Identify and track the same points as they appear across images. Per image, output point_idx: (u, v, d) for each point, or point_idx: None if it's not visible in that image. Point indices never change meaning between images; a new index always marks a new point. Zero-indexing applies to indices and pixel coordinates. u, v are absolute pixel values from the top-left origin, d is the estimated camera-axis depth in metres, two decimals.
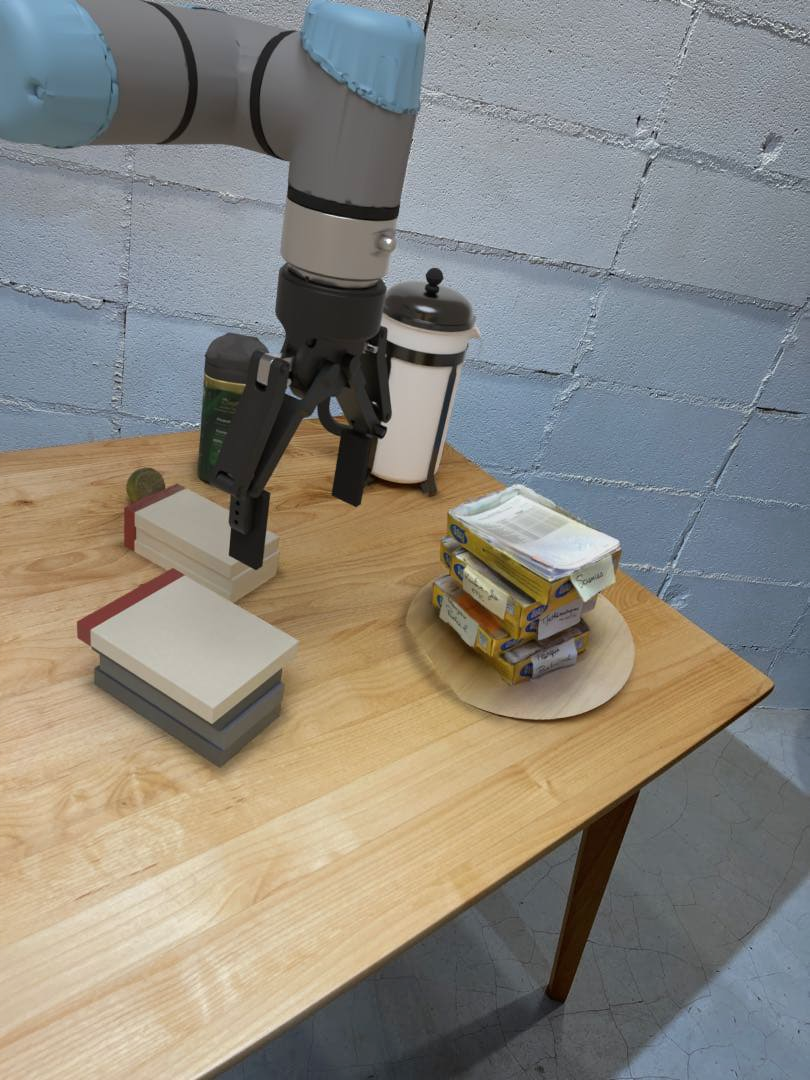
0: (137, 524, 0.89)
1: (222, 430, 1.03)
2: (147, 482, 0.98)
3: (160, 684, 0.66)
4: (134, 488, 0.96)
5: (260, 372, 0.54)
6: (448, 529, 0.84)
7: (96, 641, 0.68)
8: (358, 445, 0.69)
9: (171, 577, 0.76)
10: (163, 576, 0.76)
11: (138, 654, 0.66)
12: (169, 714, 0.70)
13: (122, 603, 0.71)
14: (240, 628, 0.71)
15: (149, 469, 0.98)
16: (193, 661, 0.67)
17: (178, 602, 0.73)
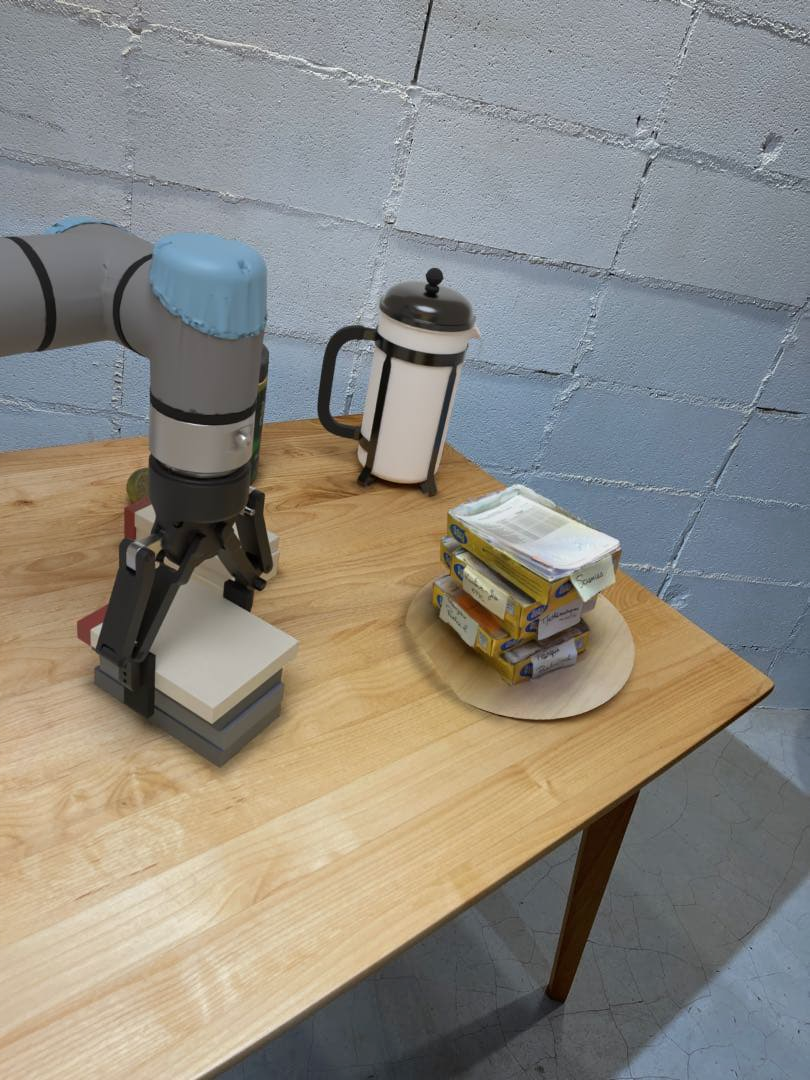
0: (137, 524, 0.89)
1: None
2: (147, 482, 0.98)
3: (160, 684, 0.66)
4: (134, 488, 0.96)
5: (128, 560, 0.59)
6: (448, 529, 0.84)
7: (96, 641, 0.68)
8: (239, 597, 0.73)
9: None
10: None
11: None
12: (169, 714, 0.70)
13: None
14: (240, 628, 0.71)
15: None
16: (193, 661, 0.67)
17: (178, 601, 0.73)
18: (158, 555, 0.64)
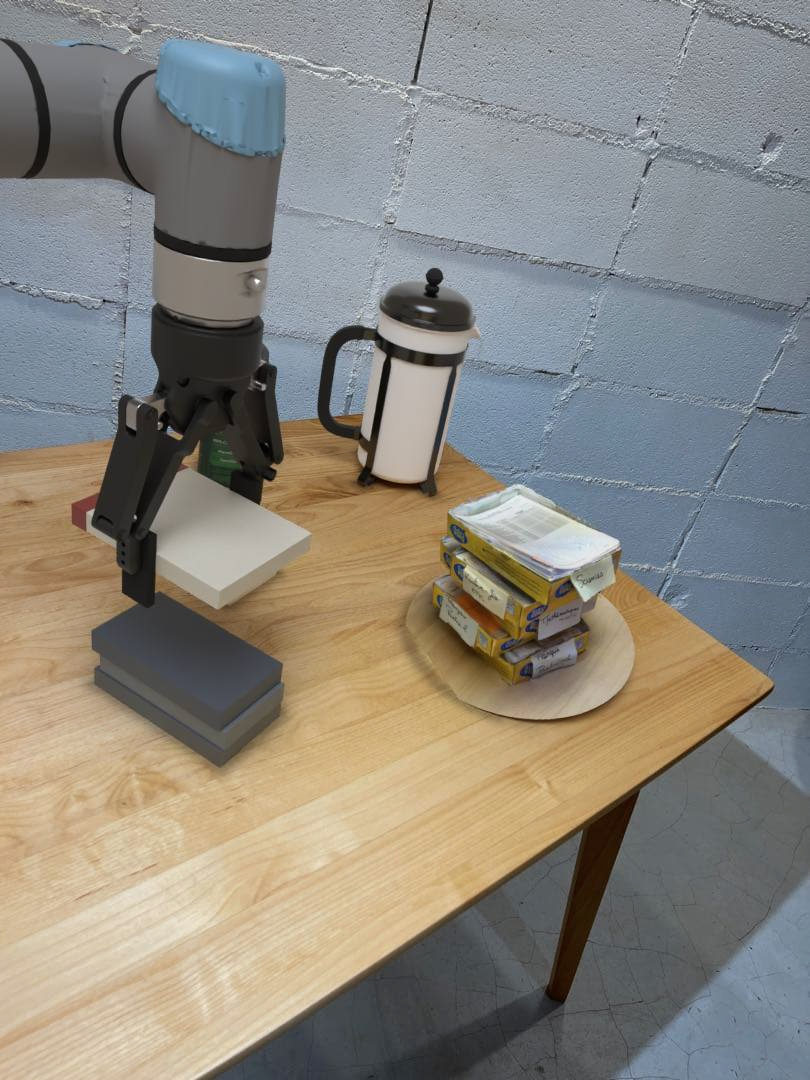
0: None
1: None
2: None
3: (161, 568, 0.60)
4: None
5: (128, 418, 0.54)
6: (448, 529, 0.84)
7: None
8: (247, 487, 0.68)
9: None
10: None
11: None
12: (169, 714, 0.70)
13: None
14: (249, 518, 0.66)
15: None
16: (197, 546, 0.62)
17: (181, 491, 0.68)
18: None
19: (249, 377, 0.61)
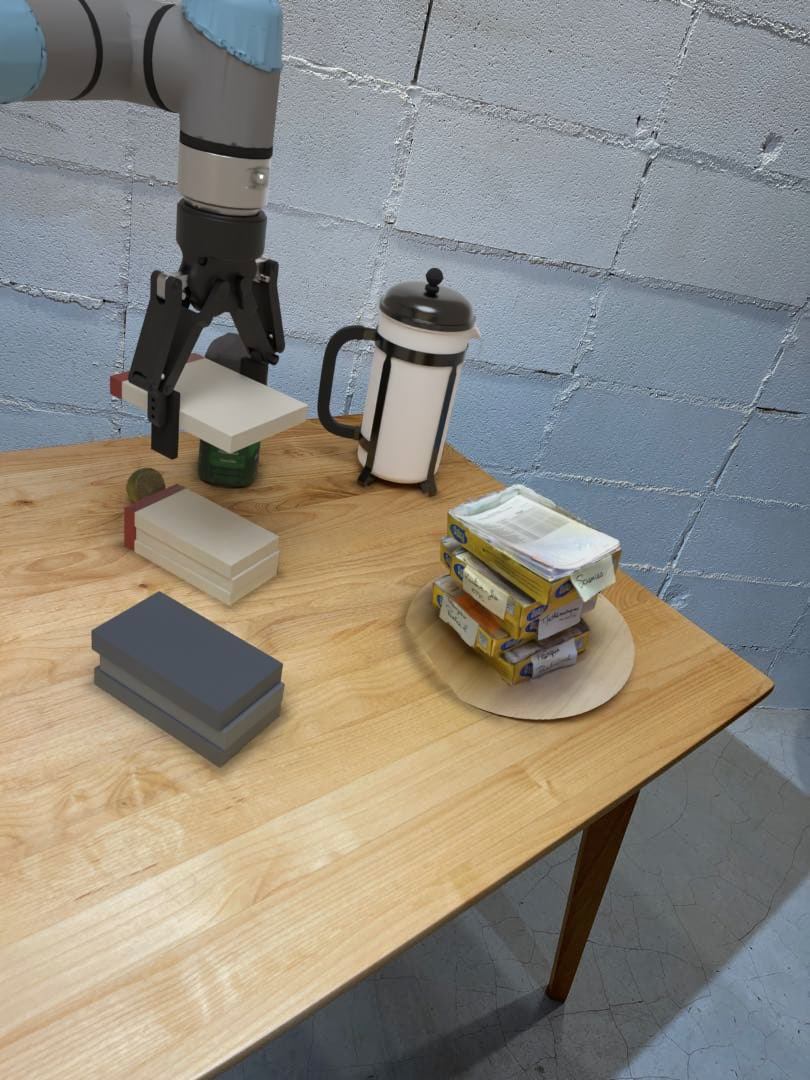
0: (137, 524, 0.89)
1: None
2: (147, 482, 0.98)
3: (184, 423, 0.74)
4: (134, 488, 0.96)
5: (158, 288, 0.67)
6: (448, 529, 0.84)
7: (127, 393, 0.76)
8: (254, 370, 0.81)
9: (193, 358, 0.84)
10: None
11: None
12: (169, 714, 0.70)
13: None
14: (256, 393, 0.79)
15: (149, 469, 0.98)
16: (213, 407, 0.75)
17: (199, 372, 0.81)
18: (184, 301, 0.72)
19: (255, 268, 0.74)
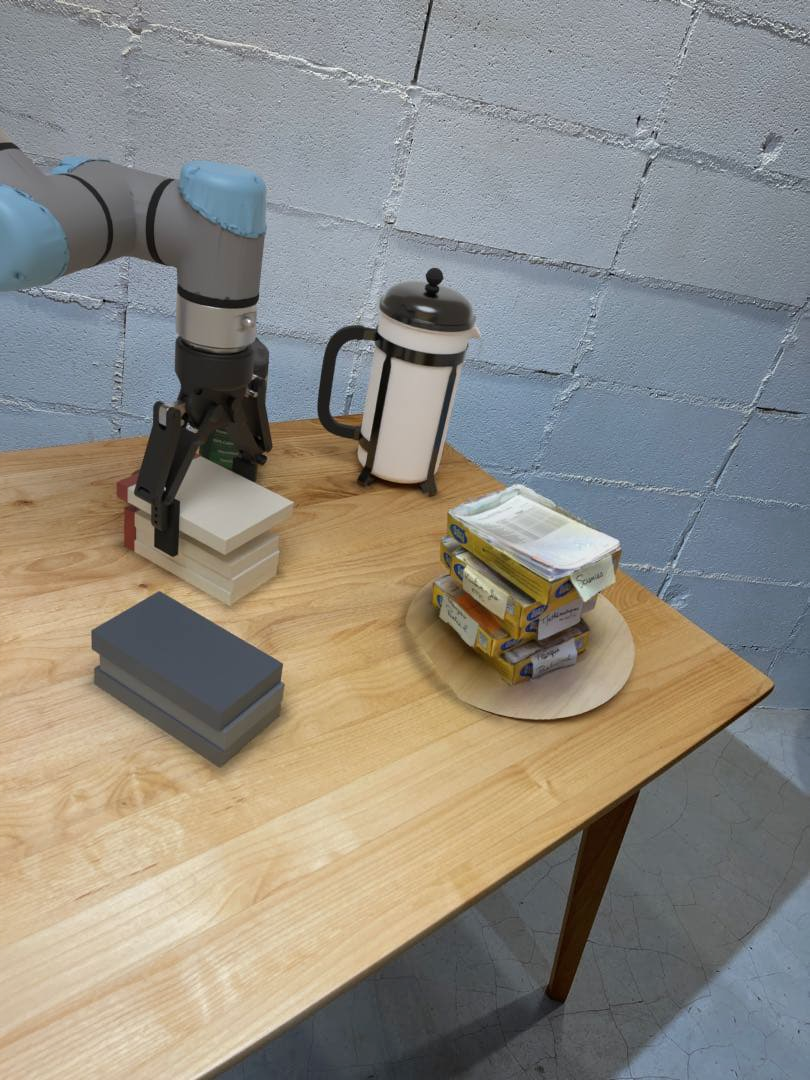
0: (137, 524, 0.89)
1: (222, 430, 1.03)
2: None
3: (183, 526, 0.83)
4: None
5: (160, 417, 0.77)
6: (448, 529, 0.84)
7: (132, 497, 0.86)
8: (245, 470, 0.91)
9: None
10: None
11: None
12: (169, 714, 0.70)
13: None
14: (247, 492, 0.89)
15: None
16: (209, 511, 0.84)
17: (196, 473, 0.90)
18: None
19: (245, 387, 0.84)
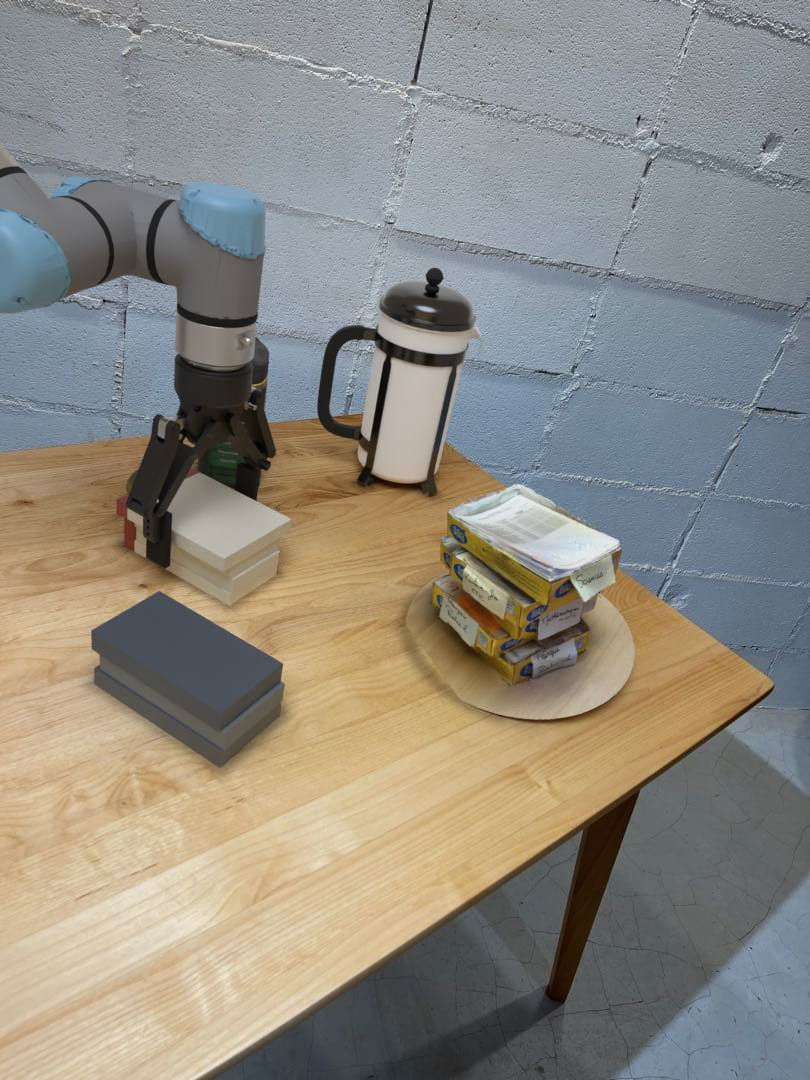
0: None
1: None
2: None
3: (182, 544, 0.84)
4: None
5: (159, 430, 0.77)
6: (448, 529, 0.84)
7: (132, 514, 0.87)
8: (249, 475, 0.92)
9: (189, 473, 0.94)
10: None
11: None
12: (169, 714, 0.70)
13: None
14: (245, 509, 0.90)
15: None
16: (208, 528, 0.86)
17: (195, 489, 0.92)
18: None
19: (243, 403, 0.85)
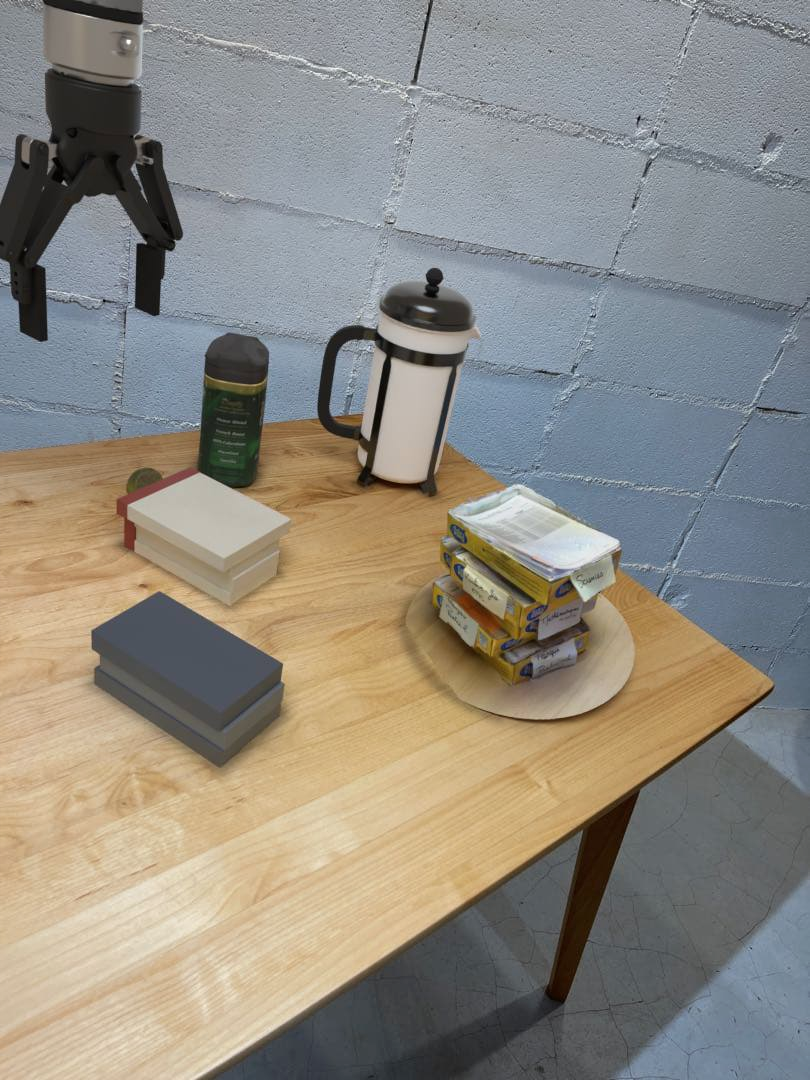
0: None
1: (222, 430, 1.03)
2: (147, 482, 0.98)
3: (182, 544, 0.84)
4: (134, 488, 0.96)
5: (23, 152, 0.65)
6: (448, 529, 0.84)
7: (132, 514, 0.87)
8: (150, 256, 0.80)
9: (189, 473, 0.94)
10: (183, 472, 0.94)
11: (165, 522, 0.85)
12: (169, 714, 0.70)
13: (151, 489, 0.90)
14: (245, 509, 0.90)
15: (149, 469, 0.98)
16: (208, 528, 0.86)
17: (195, 489, 0.92)
18: (55, 176, 0.69)
19: (135, 149, 0.72)
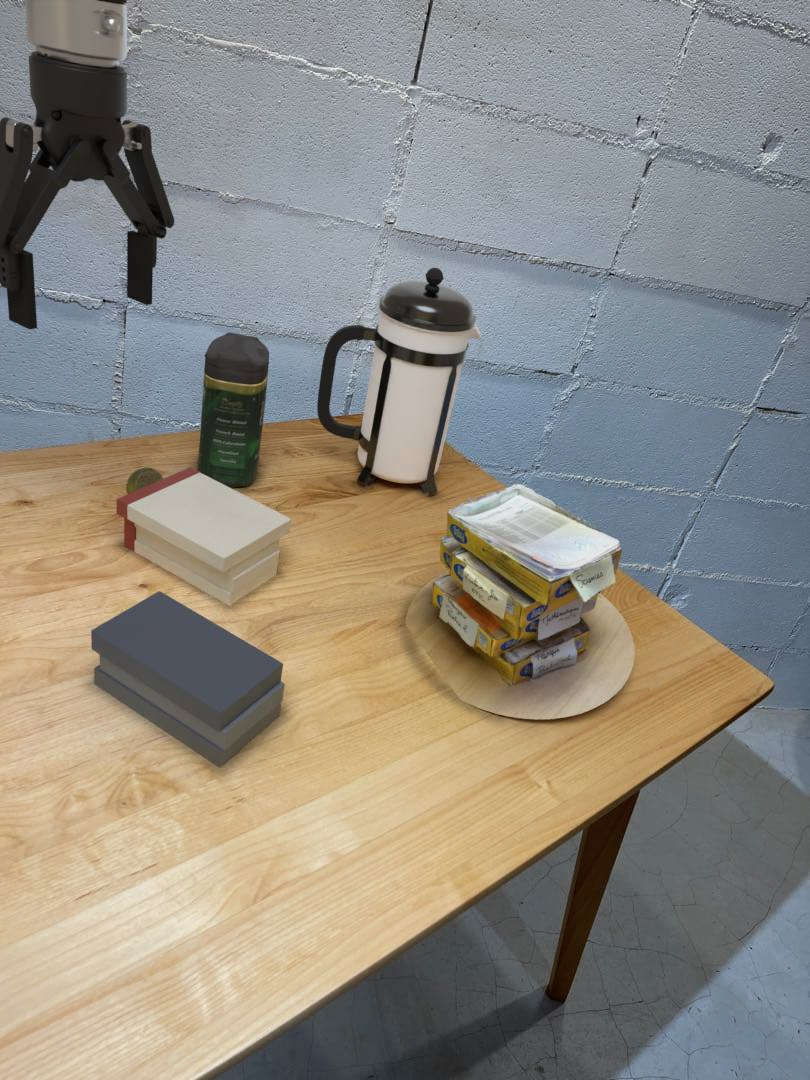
0: None
1: (222, 430, 1.03)
2: (147, 482, 0.98)
3: (182, 544, 0.84)
4: (134, 488, 0.96)
5: (7, 135, 0.64)
6: (448, 529, 0.84)
7: (132, 514, 0.87)
8: (141, 244, 0.79)
9: (189, 473, 0.94)
10: (183, 472, 0.94)
11: (165, 522, 0.85)
12: (169, 714, 0.70)
13: (151, 489, 0.90)
14: (245, 509, 0.90)
15: (149, 469, 0.98)
16: (208, 528, 0.86)
17: (195, 489, 0.92)
18: (41, 161, 0.69)
19: (122, 133, 0.72)
